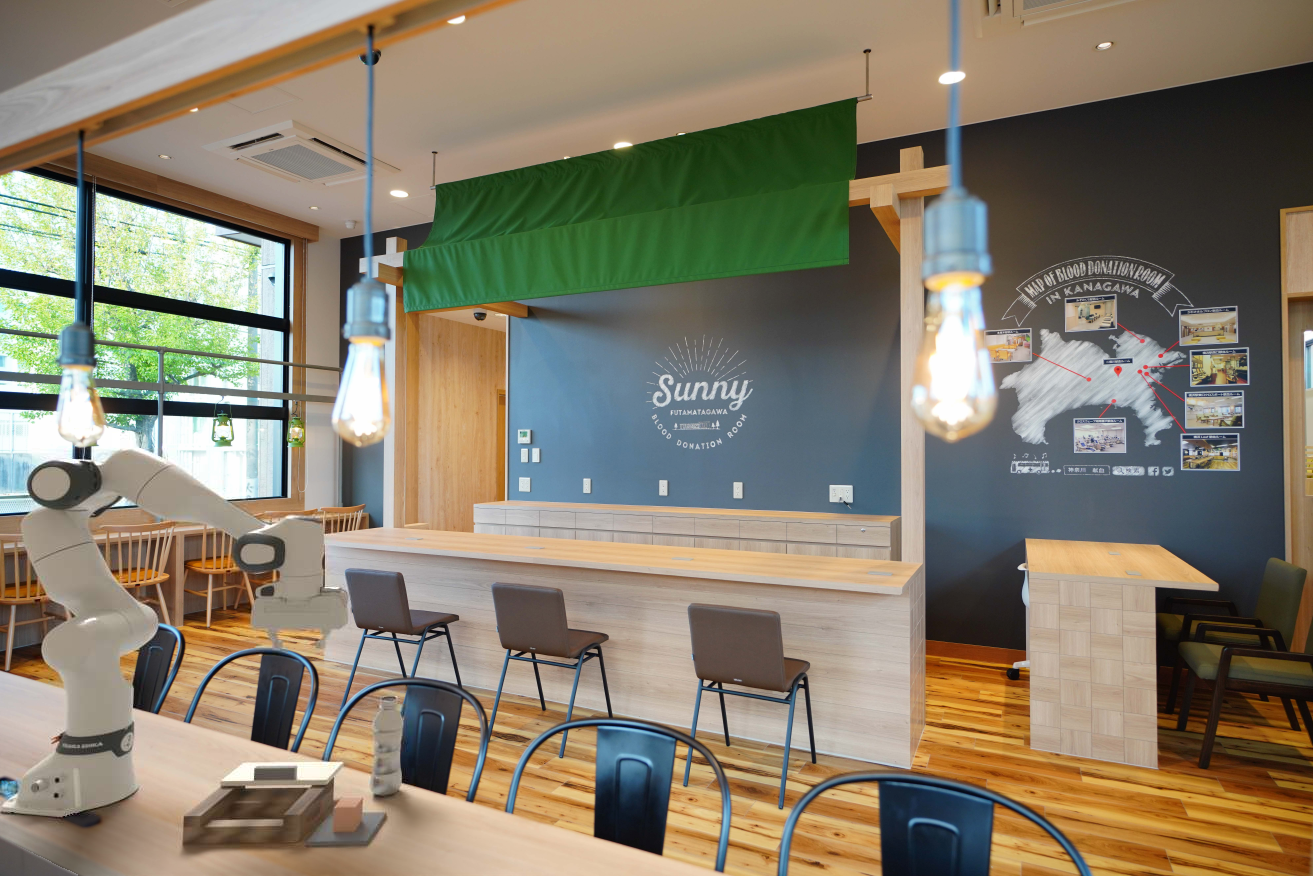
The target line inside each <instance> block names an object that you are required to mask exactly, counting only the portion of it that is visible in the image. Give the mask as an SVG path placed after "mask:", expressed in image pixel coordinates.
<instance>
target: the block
mask: <svg viewBox="0 0 1313 876" xmlns="http://www.w3.org/2000/svg"><path fill="white" fill-rule="evenodd" d="M363 801H364V798H363V797H341V798H340V800H339V801H338V802H337V803H336V804H335V806H334V807H333V813H334V819H333V832H352V831H355V830H356V829H357V827H358V826H359V825H360V823H361V822H362V812H363V809H364V808H363V806H364V805H363V803H364V802H363Z"/></svg>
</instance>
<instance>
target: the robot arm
mask: <svg viewBox="0 0 1313 876" xmlns="http://www.w3.org/2000/svg"><path fill="white" fill-rule="evenodd" d="M26 482H27V483H26V489H27V492H28V495H29V497H30V498H31V500H33V501H34V502H35V503H37V504H38V505H40V507H37V508H35V509H32V510H31V511H29V512H28V513H27V514H26V515H25V516H24V517H23V518H22V520H21V522H20V530H21V537H22V540H23V544H24V548H25V551H26V554H27V556H28V559H29V560H30V563H31V565H32V567H33V570H34V571H35V573H36V575H37V577H38V580H39V582H40V585H41V586H42V588H43V589H44V592H45V595H46V596H47V597H48V599H49V600H51V602H52V601H53V602H55V603H57V604H59V605H62V606H63V607H65V608H66V609H68V611H70V612H71V613H72V614H73V615H74V617H71V618H69V619H67V620H66V621H64V622H62V623H60V624H59V625H57V626H56V627H54V628H52V629H51V630H49V632H48V633H47V634H46V635H45V637H44V638H43V640H42V644H41V656H42V658H43V660H44V662H45V663H46V665H48V666H49V668H51V669H53V670H55V671H56V672H57V673H58V674H59V676H60V678H61V680H62V683H63V686H64V691H65V695H66V720H65V721H66V723H65V724H66V727H65V730H64V731H63V732H61V733H60V734H58V735H57V736H55V737H52V738H51V741H52V742H51V745H54V744H55V743H58V744H57V746H56V748H55V750H54V751H53V752H52V753H50V754H49V755H48V756H46V757H45V758H43V759H42V760H41V761H39V762H37V764H35V765H34V766H32V767H31V768H30V769H29V770H27V771H26V772H25V773H24V775H23V776H22V778H21V780H20V783H19V787H18V790H17V793H16V794H14V795H12V796H11V797H10V798H8V799H6V800H5V802H3V804H2V805H1V810H0V811H1V812H3V813H11V812H14V814H23V815H35V816H45V817H46V816H47V817H58V818H64V817H63V816H65V817H68V816H67V815H69V816H71V815H70V814H72V815H74V814H73V813H75V814H78V813H80V812H83V811H88V810H91V809H95V808H100V807H105V806H108V805H110V804H114V803H116V802H118V801H120V800H123V799H125V798H127V797H130V796H131V795H132V794H134V793H135V792H136V791H137V790H138V788H139V783H138V781H137V778H136V774H135V768H134V761H133V746H134V740H135V722H134V720H133V709H134V708H133V707H134V691H135V690H134V686H133V684H132V682H131V681H129V680H127V679H126V678H125V677H124V675H123V671H122V669H121V665H120V664H121V663H120V660H121V658H122V656H125V655H128V654H130V653H132V652H136V651H137V650H139V649H140V648H142V647H143V646H144V645H146V644H147V643H148V642H149V641H151V640H152V639H153V638H154V636H155V635H156V633H157V631H158V629H159V618H158V615H157V613H156V612H155V611H154V610H155V609H153V608H151V606H149V605H147V604H144V603H142V602H141V601H139V600H137V599H136V598H134V597H133V596H132V595H131V594H130V593H129V591H128V590H126V589H125V588H124V587H123V585H122V584H121V583H120V582H119V581H118V580H117V579H116V577H115V575H114V574H113V573H112V571H111V570H110V568H109V566H108V564H107V562H106V560H105V558H104V556H103V554H102V552H101V550H100V548H99V547H98V544H97V542H96V540H95V538H94V536H93V534H92V532H91V529H90V527H89V520H90V518H92V519H94V518H98V517H99V516H101V515H102V514H103V513H105V512H106V511H107V510H108V509H110V508H112V507H113V506H115V505H116V504H118V503H119V502H120V501H121V500H122V499H123V498H124V499H126V500H127V501H129V502H131V503H132V504H134V505H135V506H137V507H139V508H140V509H141V510H144V511H145V512H147V513H149V514H151V515H153V516H155V517H158V518H160V519H163V520H166V521H168V522H169V521H170V522H179V523H180V522H181V523H197V524H203V525H207V526H211V527H214V528H216V529H217V530H220V531H221V532H223V533H226V534H227V535H229V536H230V537H232V538H234V539H236V540H235V543H234V544H233V547H232V551H231V552H232V553H231V554H232V561H233V563H234V565H235V566H236V567H237V568H238V570H240V571H242V572H243V573H247V574H255V575H256V574H257V575H258V574H263V573H267V572H271V571H278V572H279V579H278V580H275V581H272V582H269V583H267V584H264V585H261V586H259V587H256V589H255V596H256V599H255V600H254V601H253V604H252V606H251V612H250V626H251V628H252V629H253V630H255V631H257V630H260V631H261V630H263V631H264V630H265V631H266V630H267V637H268V639H269V640H270V641H271V642H272V644H271V645H272V646H271V647H272V648H271V649H272V650H273V651H276V650H277V651H278V650H282V649H283V647H284V645H283V644H284V640H282V639H279V637H278V633H279V630H281V631H282V630H285V631H286V630H294V631H295V630H299V631H300V630H304V631H305V630H308V631H309V630H311V631H313V630H317V631H318V630H320V634H321V635H322V637H321V639H319V640H317V641H316V642H315V650H319V651H322V650H326V644H327V640H328V639H329V636H331V633H332V630H338V631H339V630H341V629H344V628H345V627H346V626H347V625H348V623H349V611H348V603H349V594H348V591H347V590H346V589H345V588H343V587H340V586H338V587H337V586H336V587H327V586H324V569H323V559H324V555H325V531H324V526H323V523H322V521H321V520H320V519H319V518H317V517H314V516H311V515H304V514H289V515H288V514H287V515H286V516H285V517H283V518H282V519H280V520H279V521H277V522H275V523H269V522H266V521H264V520H262V519H261V518H258V517H257V516H255V515H253V514H252V513H250V512H248V511H246V510H245V509H244V508H241V507H240V506H238V505H236V504H235V503H232V502H230V501H228V500H227V499H225V498H223V497H222V496H221V495H219V494H218V493H216V492H215V491H213V490H212V489H210V488H209V487H207V486H206V485H204V484H203V483H201V481H199V480H198V479H196V478H195V477H194V476H192V475H190V474H189V473H188V472H187V471H185V470H183V469H182V468H180V467H179V466H177V465H175V464H174V463H173V462H171V461H169V460H167V459H165V458H163V457H162V456H159V455H157V454H155V453H154V452H151V451H148V450H146V449H144V448H141V447H137V446H126V447H123V448H120V449H118V450H117V451H115V452H113V453H111V455H110V456H109V457H108V458H107V459H106V460H105V461H103V462H102V461H97V460H91V459H83V458H82V459H77V458H75V459H74V458H59V459H53V460H49V461H46V462H43V463H41V464H39V465H38V466H36V467H35V468H34V469H33V470H32V471H31V473H29V475H28V478H27V481H26Z"/></svg>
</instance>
